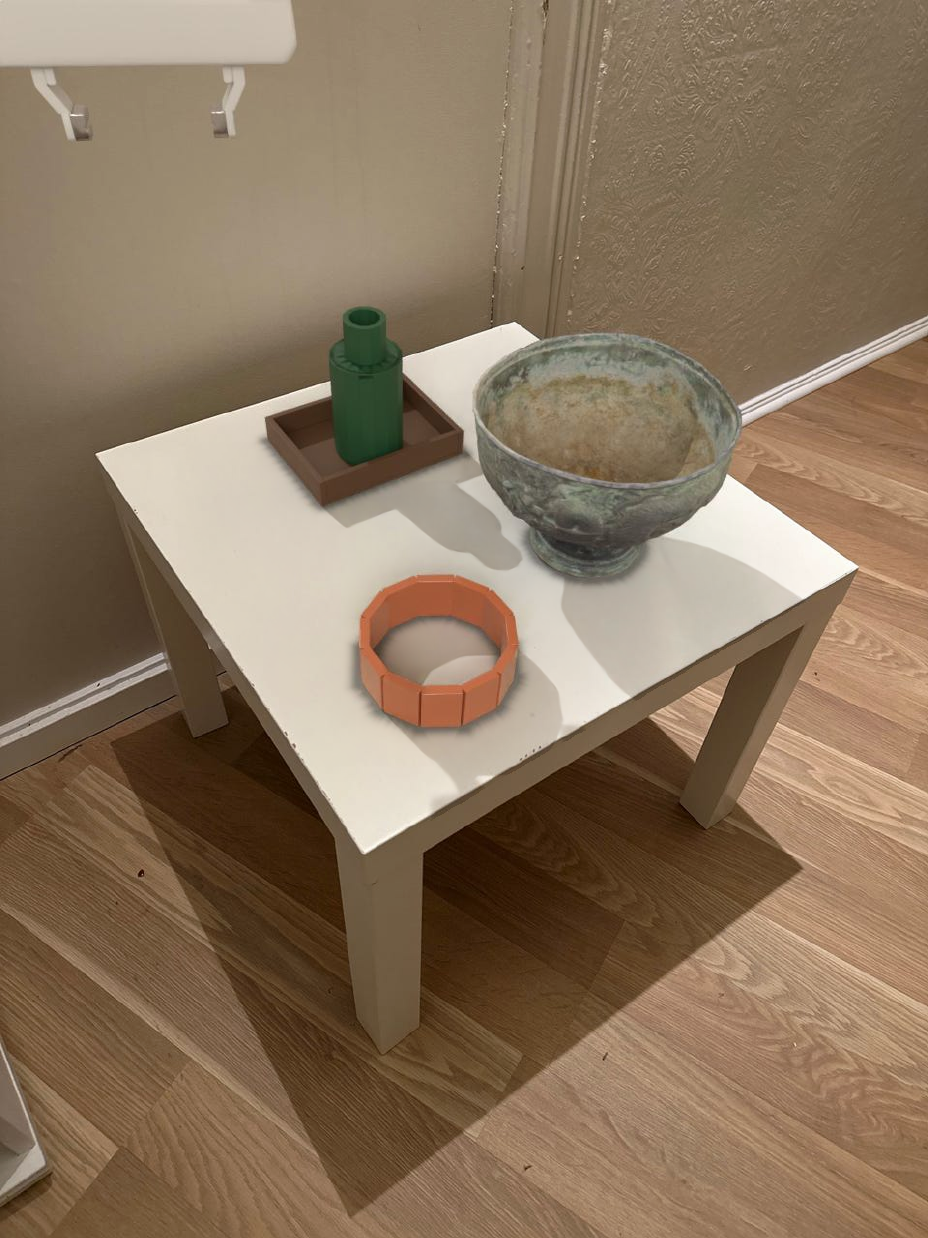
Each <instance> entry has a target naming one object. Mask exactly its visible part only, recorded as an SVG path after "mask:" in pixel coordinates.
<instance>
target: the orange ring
mask: <svg viewBox="0 0 928 1238" xmlns="http://www.w3.org/2000/svg"><path fill="white" fill-rule="evenodd" d="M441 616H442V617H443V616H452V617H453V618H456V619H459V620H461V621H464V622H466V623H468V624H471V625H474V626H476V627H479V628H481V630H482V631H483V632H484V633H485V634H486V635H487V637H489V638H490V640H491V641H492V642H493V643H494V644H495V645H496V646H497V648H498V649H499V650H500V656H499V657H498V659H497V661H496V662H495V664H494V666H493V667H492V669H490V670H488V671H486V672H484V673H482V674H480V675H478V676H476V677H473V678H472V679H470V680H468V681H466V682H464V683H463V684H440V685H439V684H437V685H436V684H435V685H434V684H433V685H421V684H419V683H417V682H415V681H413V680H410V679H408V678H405V677H403V676H401V675H398V674H397V673H394V672H392V671H390V670H389V669H388V668H387V667H386V665H385V664H384V663H383V661H382V660H381V659H380V657H379V656H378V655H377V653H376V652H375V651H374V650H375V649H376V647H377V646H378V645H379V643H380V642H381V641H382V639H383V638H384V637H385V635H386V634H388V631H389V630H390V629H393V628H395V627H397V626H400V625H402V624H404V623H406V622H408V621H411V620H412V619H415V618H418V617H441ZM516 621H517V620H516V616H515V613H514V611H513V610H512V609H511V608H510V607H509V606H508V605H507V604H506V603H505V601H504V600H503V599H502V598H501V597H500V596H499V595H498V594H497V593H496V592H495V591H494V589H490V587H489V586H486V585H483V584H481V583H478V582H476V581H474V580H470V579H468V578H465V577H463V576H461V575H458V574H456V575H454V574H416V575H411V576H409V577H406V578H405V579H402V580H400V581H398V582H396V583H393V584H391V585H388V586H386V587H383V588H382V589H381V590H379V591H378V593H377V594H376V595H375V597H374V598H373V599H372V600H371V601H370V603H369V604H368V605H367V606H366V608H365V609H364V610H363V611H362V613H361V614H360V617H359V627H358V628H359V631H358V632H359V633H358V634H359V636H358V651H359V668H360V680H361V684H362V685H363V686H364V688H365V689H366V691H367V692H368V693H369V695H370V696H371V698H372V699H373V701H374V702H375V703H376V704H377V706H378V707H379V709H380V710H383V712H385V713H386V714H389V715H391V716H393V717H396V718H397V719H400V720H402V721H405V722H407V723H409V724H411V725H414V726H416V727H419V726H420V727H421V728H446V727H447V728H449V727H450V728H451V727H454V728H455V727H461V725H462V726H465V725H467V724H469V723H471V722H472V721H475V720H477V719H479V718H480V717H483V716H485V715H486V714H488V713H490V712H492V711H494V710H495V709H496V708H498V707H499V705H500V704H501V702H502V701H503V699H504V697H505V696H506V694H507V692H508V690H509V688H510V687H511V685H512V683H513V682H514V679H515V673H516V666H517V660H518V653H519V652H518V651H519V646H520V645H519V644H520V642H519V635H518V627H517V622H516Z"/></svg>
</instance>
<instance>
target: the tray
mask: <svg viewBox="0 0 928 1238" xmlns="http://www.w3.org/2000/svg"><path fill="white" fill-rule="evenodd" d="M264 423H265V430H266V436H267V441H268V442H269V444H270V445H271V446H272V447H273V449H274V450H275V451H276V452H277V454H279V456H280V457H281V458H282V459H283V460H284V462H285V463H286V465H288V467H289V468H290V469H291V470H292V472H293V473H294V474H295V475H296V477H297V478H298V479H299V480H300V481H301V483H302V484H303V485H304V486H305V488H306V489H307V490H308V491H309V492H310V494H311V495H312V496H313V497H314V499H316V501H317V502H318V503H319V505H320V506H321V507H324V506H327V505H329V504H332V503H335V502H338V501H340V500H343V499H345V498H348V497H351V496H353V495H356V494H359V493H362V492H364V491H367V490H369V489H373V488H375V487H378V486H380V485H383V484H385V483H388V482H391V481H393V480H396V479H398V478H401V477H404V476H406V475H409V474H412V473H414V472H417V471H420V470H422V469H425V468H428V467H430V466H433V465H435V464H438V463H442V462H444V461H447V460H449V459H452V458H454V457H458V456H460V455H463V454H464V439H465V438H464V437H465V430H464V429H463V428H462V427H461V426H460V425H458V424H457V422H455V421H454V419H452V418H451V417H450V416H449V415H448V413H446V412H445V411H444V410H443V409H442V408H441V407H440V406H439V405H438V404H436V402H434V401H433V400H432V399H431V398H430V397H429V396H428V395H427V394H426V393H425V392H424V391H423V389H421V388H420V387H419V386H418V385H417V384H416V383H415V382H414V381H412V380H411V379H410V378H409V377H408V376H407V375H406V374H405V373H404V372H403V449H401V450H398V451H395V452H392V453H389V454H387V455H384V456H381V457H378V458H376V459H373V460H370V461H367V462H365V463H362V464H359V465H356V466H355V465H352V464H349V463H347V462H345V461H344V460H343V459H341V458H340V456H339V455H338V454H337V452H336V446H335V438H334V424H333V411H332V398H331V395H329V396H325V397H322V398H320V399H317V400H313V401H311V402H308V403H307V402H306V403H304V404H301V405H298V406H295V407H292V408H288V409H286V410H282V411H279V412H276V413H273V414H270V415H265V416H264Z"/></svg>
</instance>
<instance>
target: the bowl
mask: <svg viewBox="0 0 928 1238" xmlns="http://www.w3.org/2000/svg"><path fill="white" fill-rule="evenodd" d="M471 411H472V413H473V416H474V417H473V418H474V424H475V425H474V426H475V433H476V439H477V440H476V445H477V446H476V447H477V454H478V462H479V464H480V465H479V466H480V468H481V470H482V474H483V476H484V478H485V479H486V481H487V483H488V485H489V486H490V488H491V489H492V491H494V492H495V493H496V495H497V497H498V498H499V499H500V500H501V502H502V504H503V506H505V507H506V508H507V509H508V511H509V512H510V513H511V514H512V516H513V517H515V518H518V519H521V520H523V521H524V523H526V524H527V525H528V526H530V530H529V537H528V538H529V544H530V547H531V548H532V550H533V551H534V552H535V554H536V555H537V557H538V558H539V559H541V560H542V561H543V562H545V563H546V564H547V565H548V566H550V567H552V568H553V569H554V570H557V571H560V572H562V573H565V574H568V575H569V576H575V577H579V578H587V579H592V578H603V577H612V576H614V575H617V574H619V573H621V572H623V571H625V570H627V569H629V567H630V566H631V565H633V564H634V562H635V561H636V560H637V558H638V556H639V554H640V553H641V549H642V544H644V543H646V542H647V541H649V540H653V539H656V538H659V537H661V536H663V535H666V534H668V533H670V532H672V531H674V530H676V529H677V528H679V527H681V526H683V525H685V524H686V523H687V522H688V521H690V520H691V519H692V518H693V517H694V516H695V514H697V513H698V511H699V510H700V509H702V508H703V507H707V505H708V504H710V503H711V502H712V501H713V500H714V499H715V497H716V496H717V495H718V494H719V492H720V490H721V489H722V488H723V486H724V483H725V480H726V478H727V475H728V472H729V469H730V467H731V465H732V461H733V460H732V455H733V452H734V449H735V447H736V446H737V443H738V442H739V440H740V438H741V436H742V431H743V415H742V410H741V408H740V407H739V406H738V404H737V403H736V401H735V400H734V399H733V397H732V396H731V394H730V393H729V392H728V391H727V390H726V388H725V386H724V385H723V383H722V382H721V381H720V379H718V378H717V376H715V375H714V374H713V373H711V372H710V371H709V370H708V369H707V368H706V367H705V366H704V365H703V364H702V363H700V362H699V361H698V360H696V359H695V358H692V357H690V356H688V355H687V354H684V353H682V352H681V351H679V350H677V349H675V348H674V347H672V346H670V345H668V344H665V343H663V342H660V341H657V340H655V339H652V338H649V337H646V336H643V335H638V334H633V333H625V332H623V333H622V332H609V331H607V332H606V331H602V332H587V333H575V334H565V335H559V336H552V337H551V336H550V337H547V338H542V339H539V340H537V341H534V342H531V343H529V344H528V345H526V346H525V347H520V348H518V349H516V350H514V351H512V352H510V353H508V354H506V355H504V356H503V357H501V358H500V359H499V360H498V361H496V362H495V363H494V364H492V365H491V366H489V367H488V368H487V369H485V371H484V372H483V374H481V376H480V377H479V378H478V379H477V382H476V383H475V384H474V388H473V390H472V410H471Z"/></svg>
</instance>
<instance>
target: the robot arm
mask: <svg viewBox="0 0 928 1238" xmlns="http://www.w3.org/2000/svg"><path fill="white" fill-rule="evenodd" d="M297 40H298V39H297V31H296V24H295V17H294V11H293V4H292V0H0V69H1V68H3V69H4V68H5V69H7V68H8V69H11V68H16V69H17V68H28V69H29V71H30V77H31V79H32V83H33V87H34V88H35V89H36V90H37V91H38V92H39V93H40V95H41V96H42V97H43V98H44V99H45V100H46V102H47V103H48V104H49V105H50V106H51V108H52V109H54V111H55V113H57V114H58V115H60V117H61V120H62V124H63V128H64V132H65V135H66V139H67V141H68V142H87V141H89V142H90V141H93V138H92V137H93V136H94V130H93V129H94V128H93V125H92V122H91V120H89V117H90V113H89V109H88V104H87V103H85V104H83V103H74V102H73V101H72V100H71V98H70V97H69V96H68V94H67V93H66V92H65V90H63V88H62V87H61V85H60V84H59V83H58V81H59V77H60V74H61V71H60V68H90V67H91V68H95V67H96V68H99V67H102V68H103V67H105V68H107V67H176V66H177V67H185V66H186V67H187V66H188V67H189V66H190V67H194V66H197V67H198V66H199V67H200V66H201V67H202V66H221V70H222V77H223V82H224V83H225V84H227V87H226V90H225V93H224V95H223V98H222V100H221V101H210V104H209V105H210V106H209V107H210V108H209V109H210V111H209V112H210V118H211V119H210V120H211V123H212V131H213V138H214V139H229V138H230V139H235V138H237V130H236V122H235V121H236V120H235V113H234V112H235V111H236V108H237V106H238V103H239V101H240V99H241V96H242V93H243V91H244V90H245V87H246V84H247V81H246V72H245V71H246V69H245V66H277V65H278V66H280V65H286V64H288V63H289V62H290V60H291V59H292V58H293V56H294V55H295V53H296V51H297V49H298V41H297Z"/></svg>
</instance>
